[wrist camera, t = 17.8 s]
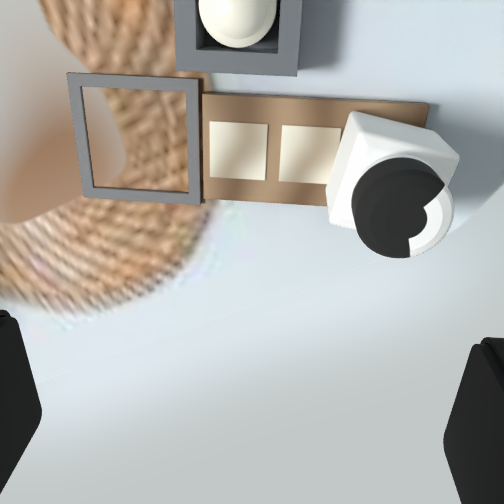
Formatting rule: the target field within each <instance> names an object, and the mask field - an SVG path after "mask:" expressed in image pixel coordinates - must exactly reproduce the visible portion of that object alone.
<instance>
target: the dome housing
mask: <svg viewBox="0 0 504 504" xmlns="http://www.w3.org/2000/svg"><path fill="white" fill-rule="evenodd" d="M302 1H303V0H281V5H280V23H279V41H278V49H261V48H235V47H216V46H204V24H203V22H202V19H201V16H200V12H199V0H174V18H175V44H176V71H190V72H211V73H232V74H253V75H274V76H295V77H297V69H298V56H299V42H300V29H301V15H302Z"/></svg>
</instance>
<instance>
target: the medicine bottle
mask: <svg viewBox="0 0 504 504" xmlns="http://www.w3.org/2000/svg"><path fill="white" fill-rule="evenodd" d="M459 160H460V157H459V155H458V154H457V153H456V152H455V151H454V150H453V149H452V148H451V147H450V146H449V145H448V144H447V143H446V142H445V141H444V140H443V139H442V138H441V137H440V136H439V135H438V134H437V133H436V132H435V131H432V130H428V129H424V128H420V127H416V126H413V125H409V124H405V123H401V122H397V121H393V120H389V119H385V118H381V117H377V116H373V115H369V114H365V113H361V112H357V111H352V112H350V114H349V117H348V120H347V123H346V126H345V129H344V132H343V136H342V139H341V142H340V145H339V148H338V151H337V154H336V158H335V161H334V164H333V167H332V170H331V173H330V176H329V179H328V183H327V186H326V198H327V206H328V213H329V221H330V223H331V224H333V225H336V226H340V227H344V228H348V229H353V230H357V232H358V235H359V237H360V238H361V240H362V241H363V243H364V244H365V245H366V246H367V247H368V248H370V249H371V250H372V251H374V252H376V253H378V254H380V255H383V256H386V257H391V258H407V257H413V256H417V255H419V254H422V253H424V252H426V251H428V250H429V249H431V248H433V247H434V246H435V245H436V244H438V243H439V242H440V241H441V240H442V239H443V238H444V236H445V235H446V233H447V232H448V230H449V228H450V226H451V224H452V221H453V217H454V201H453V198H452V195H451V193H450V191H449V189H448V188H447V187H448V185H449V183H450V181H451V178H452V176H453V174H454V172H455V170H456V167H457V165H458V163H459Z"/></svg>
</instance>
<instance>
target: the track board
mask: <svg viewBox="0 0 504 504" xmlns="http://www.w3.org/2000/svg"><path fill="white" fill-rule="evenodd" d="M428 109H429V105H428V104H426V103H419V102H399V101H379V100H360V99H340V98H320V97H300V96H280V95H261V94H241V93H221V92H204V93H203V94H202V112H203V181H204V198H205V199H221V200H236V201H252V202H267V203H283V204H298V205H314V206H327V198H326V186H327V183H328V179H329V176H330V173H331V170H332V167H333V164H334V161H335V158H336V154H337V151H338V148H339V145H340V142H341V139H342V136H343V132H344V129H345V126H346V123H347V120H348V117H349V114H350V112H352V111H357V112H361V113H365V114H369V115H373V116H377V117H381V118H385V119H389V120H393V121H397V122H401V123H405V124H409V125H413V126H416V127H420V128H424V129H425V124H426V119H427V114H428Z"/></svg>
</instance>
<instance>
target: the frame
mask: <svg viewBox="0 0 504 504" xmlns="http://www.w3.org/2000/svg"><path fill="white" fill-rule="evenodd" d="M66 74H67V80H68V88H69V96H70V103H71V110H72V117H73V124H74V131H75V138H76V146H77V152H78V160H79V167H80V174H81V182H82V189H83V196H84V197H85V198H100V199H115V200H131V201H146V202H161V203H176V204H192V205H200V204H201V184H200V127H199V79H194V78H174V77H153V76H133V75H112V74H92V73H71V72H68V73H66ZM82 86H86V87H105V88H125V89H145V90H164V91H184V92H186V109H187V143H188V177H189V193H188V192H173V191H157V190H141V189H126V188H110V187H94V179H93V171H92V163H91V155H90V147H89V139H88V132H87V124H86V117H85V108H84V100H83V93H82Z"/></svg>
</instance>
